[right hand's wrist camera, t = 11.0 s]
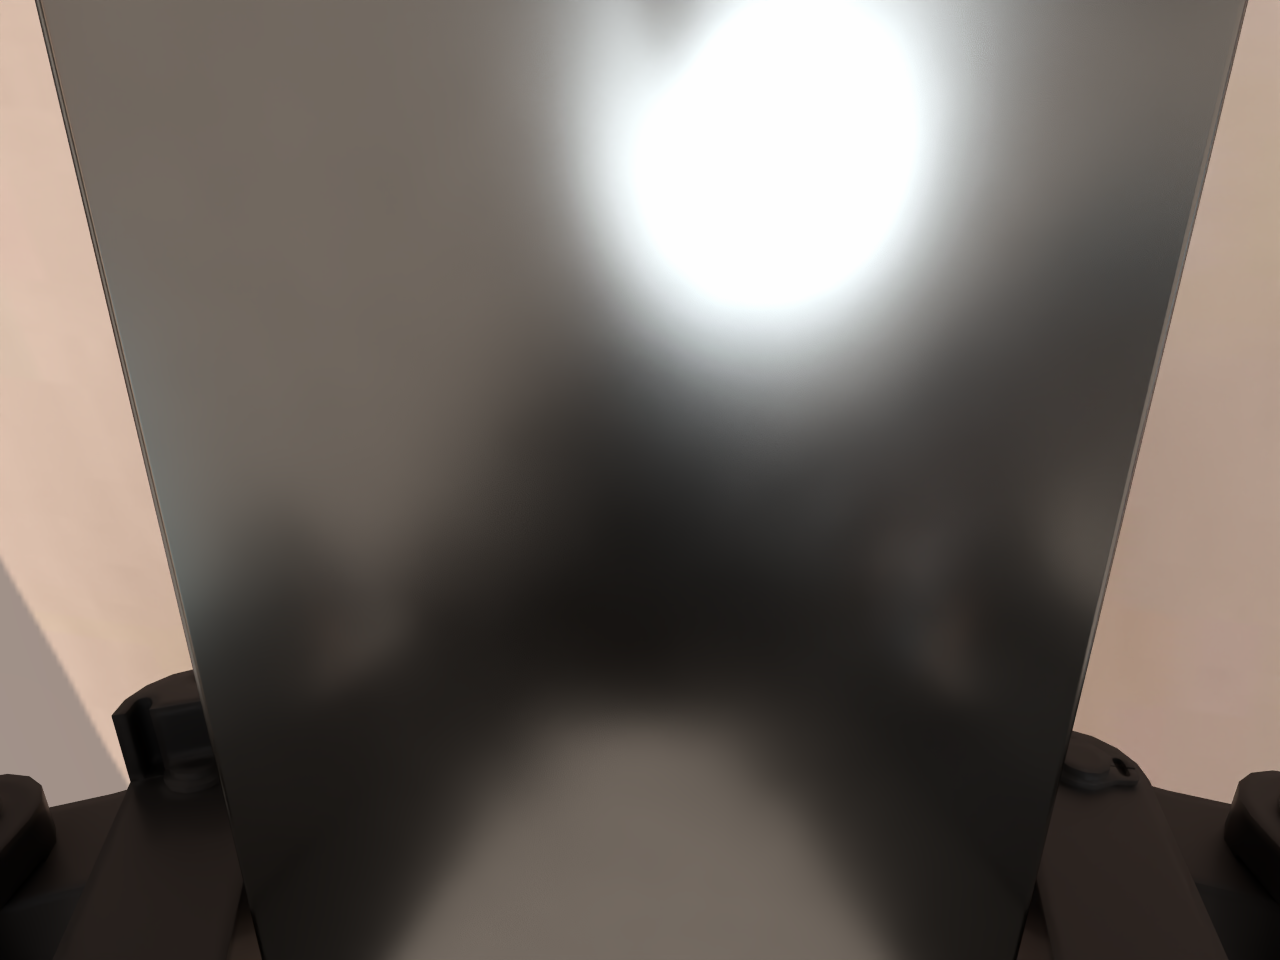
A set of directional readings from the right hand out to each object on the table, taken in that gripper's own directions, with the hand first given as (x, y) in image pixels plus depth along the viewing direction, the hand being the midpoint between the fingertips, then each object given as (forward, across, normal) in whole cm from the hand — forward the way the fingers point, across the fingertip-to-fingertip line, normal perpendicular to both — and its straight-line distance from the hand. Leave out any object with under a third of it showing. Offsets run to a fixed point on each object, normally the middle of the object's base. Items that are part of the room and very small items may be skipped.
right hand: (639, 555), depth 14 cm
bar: (+1, 0, -8) cm, 8 cm away
